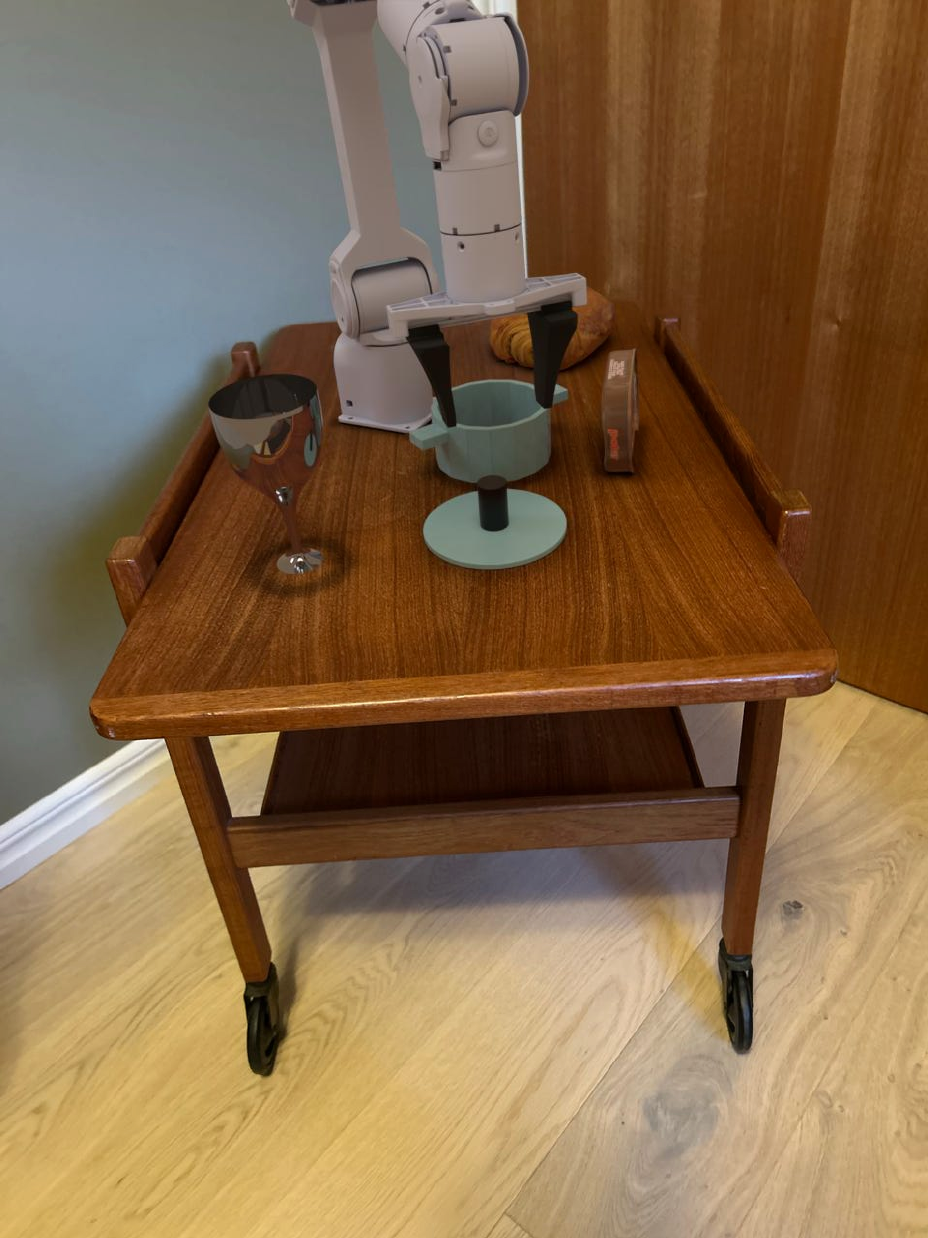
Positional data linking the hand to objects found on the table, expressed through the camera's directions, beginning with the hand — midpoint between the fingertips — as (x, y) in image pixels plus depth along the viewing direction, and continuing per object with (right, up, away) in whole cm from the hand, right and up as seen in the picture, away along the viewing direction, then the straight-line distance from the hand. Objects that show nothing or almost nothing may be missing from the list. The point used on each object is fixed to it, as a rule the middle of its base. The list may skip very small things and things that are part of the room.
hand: (497, 413), depth 71 cm
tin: (+12, 0, +17) cm, 21 cm away
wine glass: (-16, -12, +5) cm, 20 cm away
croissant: (+8, +16, +39) cm, 43 cm away
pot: (0, -1, +17) cm, 17 cm away
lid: (0, -8, +6) cm, 10 cm away
